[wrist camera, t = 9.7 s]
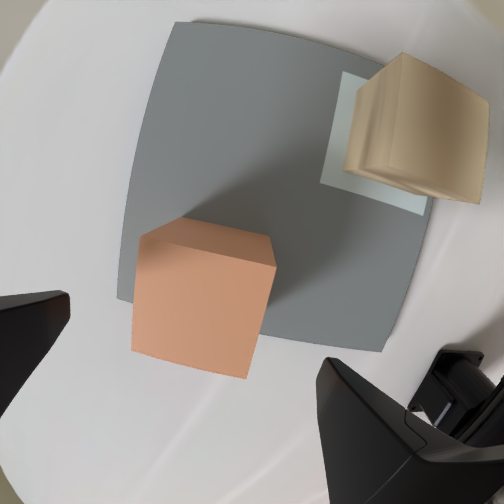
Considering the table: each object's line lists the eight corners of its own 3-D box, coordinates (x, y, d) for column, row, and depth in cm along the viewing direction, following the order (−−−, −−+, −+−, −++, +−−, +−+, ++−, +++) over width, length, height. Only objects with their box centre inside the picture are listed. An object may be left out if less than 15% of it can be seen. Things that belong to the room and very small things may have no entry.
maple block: (427, 119, 14) (489, 102, 8) (415, 195, 15) (479, 204, 9) (356, 90, 14) (402, 51, 8) (341, 170, 15) (388, 165, 9)
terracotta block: (269, 236, 16) (276, 267, 10) (249, 317, 17) (245, 378, 11) (181, 216, 16) (140, 236, 10) (168, 298, 17) (131, 350, 11)
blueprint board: (439, 100, 14) (447, 97, 13) (376, 345, 19) (381, 352, 18) (178, 28, 14) (175, 21, 13) (123, 293, 18) (116, 298, 17)
